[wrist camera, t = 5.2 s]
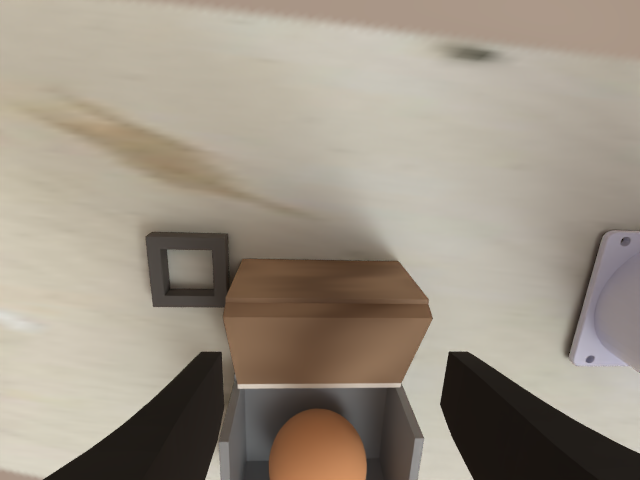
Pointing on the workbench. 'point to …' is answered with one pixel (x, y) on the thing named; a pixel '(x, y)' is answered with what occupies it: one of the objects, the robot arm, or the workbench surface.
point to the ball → (317, 449)
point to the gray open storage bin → (352, 403)
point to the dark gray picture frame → (160, 274)
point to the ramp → (323, 323)
